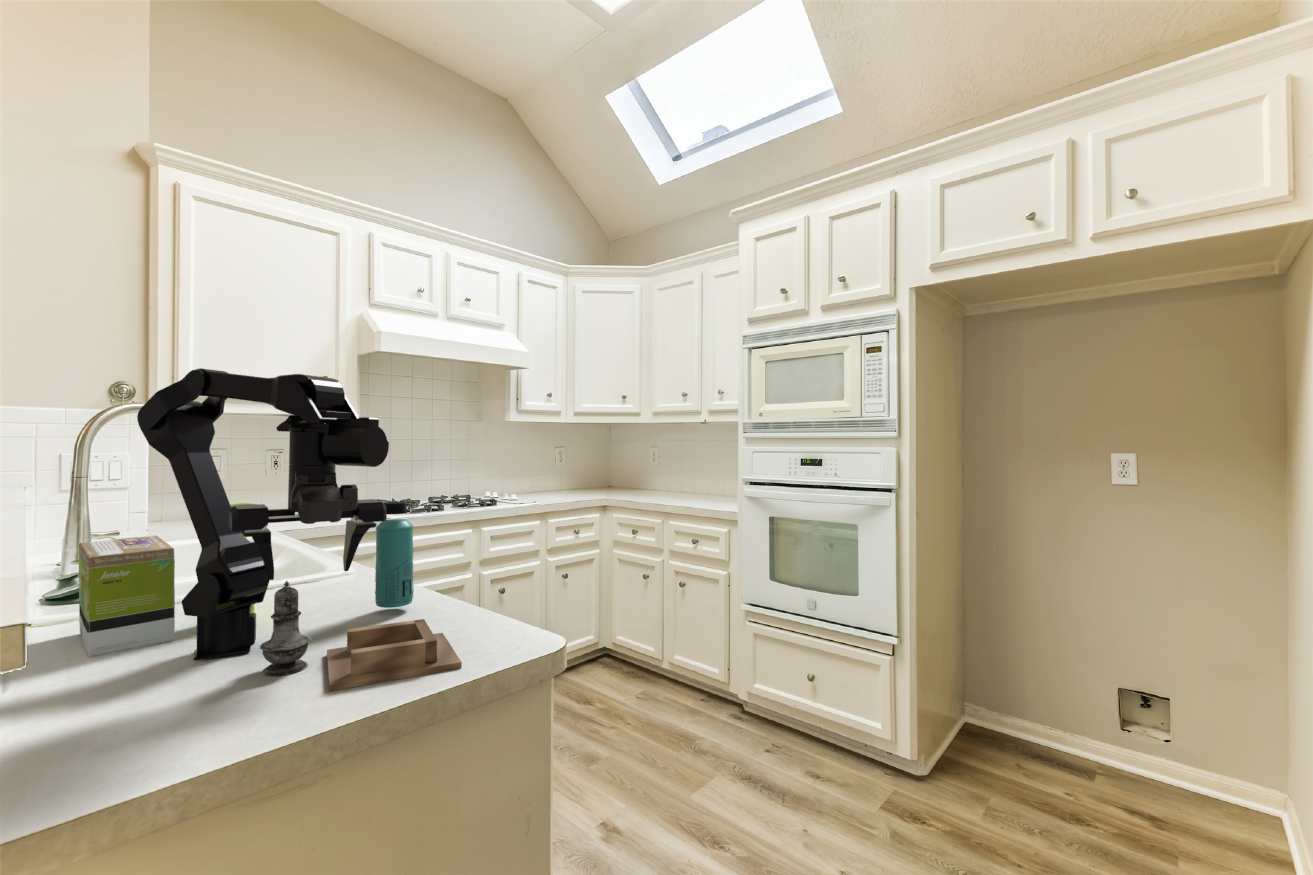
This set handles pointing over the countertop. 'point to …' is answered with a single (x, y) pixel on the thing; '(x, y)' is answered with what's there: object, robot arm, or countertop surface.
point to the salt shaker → (285, 636)
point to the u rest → (389, 654)
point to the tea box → (126, 594)
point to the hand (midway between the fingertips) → (310, 574)
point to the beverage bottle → (394, 559)
